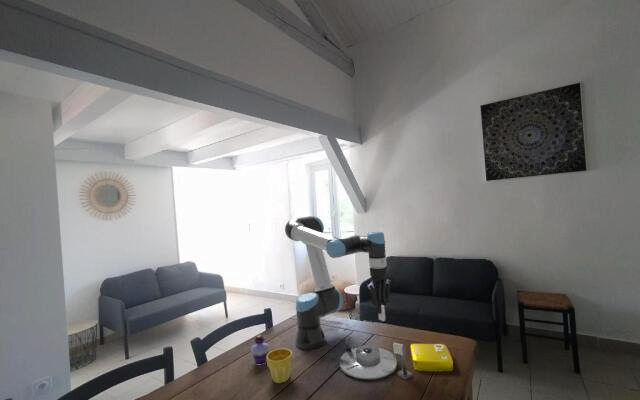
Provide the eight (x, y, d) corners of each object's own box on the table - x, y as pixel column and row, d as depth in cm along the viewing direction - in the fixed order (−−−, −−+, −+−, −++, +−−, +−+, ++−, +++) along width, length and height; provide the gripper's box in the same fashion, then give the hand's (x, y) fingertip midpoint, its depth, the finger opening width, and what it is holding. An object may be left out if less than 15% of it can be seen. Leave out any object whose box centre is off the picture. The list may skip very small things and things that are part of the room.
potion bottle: (261, 355, 139) (259, 330, 140) (274, 360, 134) (272, 333, 135) (247, 364, 132) (245, 337, 133) (260, 369, 127) (258, 341, 128)
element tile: (410, 352, 131) (409, 342, 131) (446, 353, 128) (445, 342, 128) (414, 371, 117) (413, 359, 117) (454, 372, 113) (453, 360, 114)
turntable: (325, 359, 130) (324, 345, 131) (366, 342, 143) (365, 329, 143) (364, 387, 108) (362, 370, 108) (409, 364, 120) (408, 349, 120)
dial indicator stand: (395, 373, 116) (392, 343, 116) (402, 370, 118) (399, 340, 118) (405, 379, 111) (402, 348, 111) (412, 375, 113) (409, 344, 114)
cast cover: (351, 359, 126) (351, 349, 126) (369, 352, 131) (368, 342, 131) (367, 369, 117) (366, 358, 117) (385, 360, 123) (384, 350, 123)
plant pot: (289, 386, 113) (287, 361, 113) (264, 385, 115) (262, 360, 115) (297, 371, 123) (295, 348, 123) (273, 371, 125) (271, 347, 125)
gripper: (372, 270, 124) (376, 326, 124) (394, 265, 131) (398, 318, 131) (361, 268, 131) (365, 321, 130) (383, 263, 137) (386, 313, 137)
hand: (382, 319), depth 131 cm, fingers closed
